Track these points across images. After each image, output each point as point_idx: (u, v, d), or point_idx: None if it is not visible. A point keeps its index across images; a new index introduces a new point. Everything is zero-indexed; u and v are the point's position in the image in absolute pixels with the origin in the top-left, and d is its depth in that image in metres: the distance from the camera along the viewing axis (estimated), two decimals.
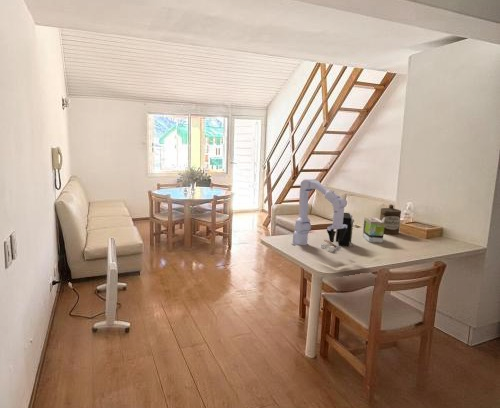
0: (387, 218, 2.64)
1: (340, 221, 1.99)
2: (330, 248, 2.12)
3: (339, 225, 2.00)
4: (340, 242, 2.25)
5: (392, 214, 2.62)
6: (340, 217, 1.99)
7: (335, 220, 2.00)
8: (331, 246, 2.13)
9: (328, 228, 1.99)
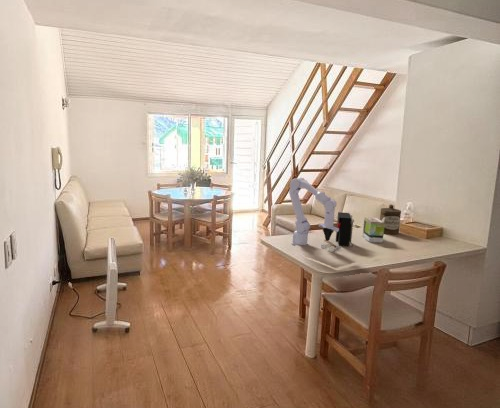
0: (387, 218, 2.64)
1: (325, 220, 2.13)
2: (330, 248, 2.12)
3: (324, 224, 2.14)
4: (340, 242, 2.25)
5: (392, 214, 2.61)
6: (332, 217, 2.12)
7: None
8: (331, 246, 2.13)
9: None
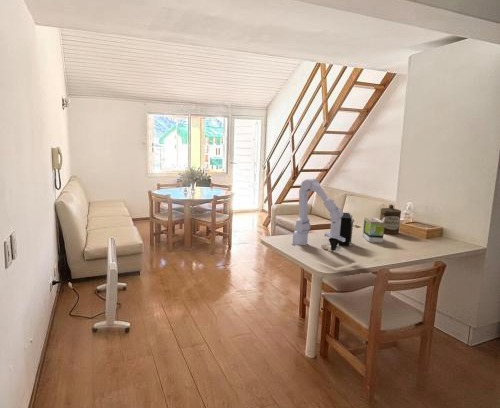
0: (387, 218, 2.64)
1: (331, 230, 2.09)
2: (329, 248, 2.13)
3: (330, 234, 2.10)
4: (340, 242, 2.25)
5: (392, 214, 2.61)
6: (338, 227, 2.07)
7: None
8: (330, 246, 2.13)
9: None
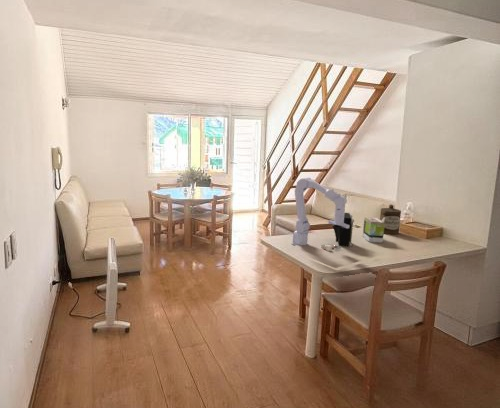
0: (387, 218, 2.64)
1: (335, 217, 2.10)
2: (327, 247, 2.14)
3: (334, 221, 2.11)
4: (340, 242, 2.25)
5: (392, 214, 2.62)
6: (342, 214, 2.08)
7: None
8: (328, 245, 2.15)
9: None
